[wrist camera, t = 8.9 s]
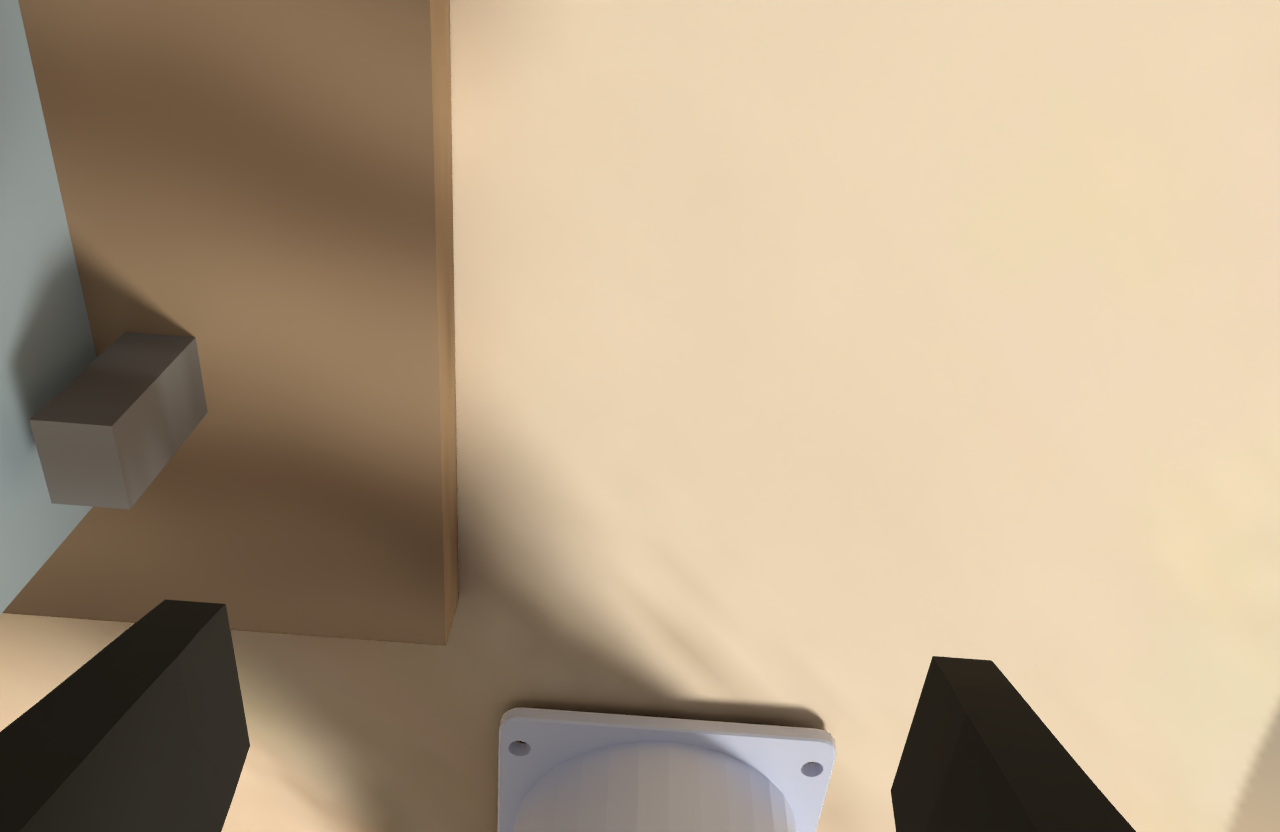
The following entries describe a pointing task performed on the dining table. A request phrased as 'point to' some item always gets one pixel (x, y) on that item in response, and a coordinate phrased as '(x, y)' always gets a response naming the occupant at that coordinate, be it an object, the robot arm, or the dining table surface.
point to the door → (31, 315)
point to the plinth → (255, 313)
